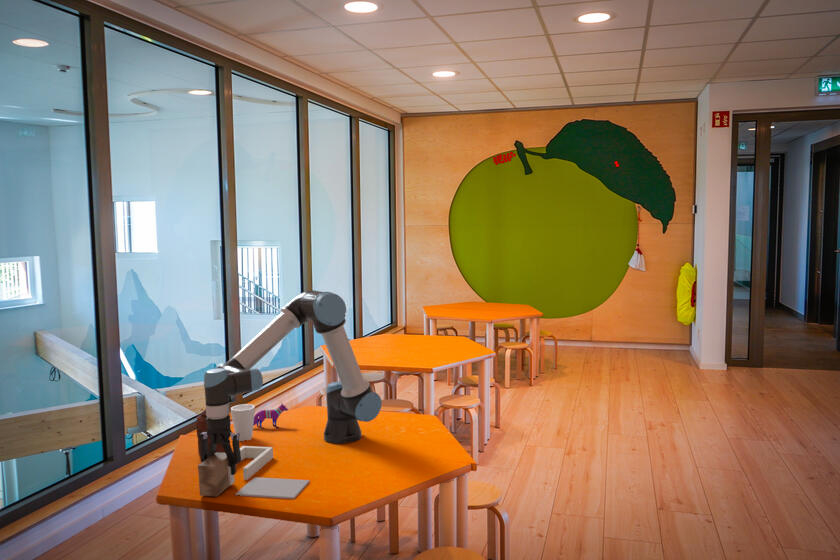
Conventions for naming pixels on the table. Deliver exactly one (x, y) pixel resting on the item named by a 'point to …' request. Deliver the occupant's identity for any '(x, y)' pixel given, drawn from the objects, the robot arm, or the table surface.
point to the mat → (273, 488)
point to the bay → (260, 455)
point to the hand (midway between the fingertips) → (222, 483)
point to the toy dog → (269, 415)
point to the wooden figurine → (202, 428)
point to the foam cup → (243, 420)
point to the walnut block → (213, 475)
